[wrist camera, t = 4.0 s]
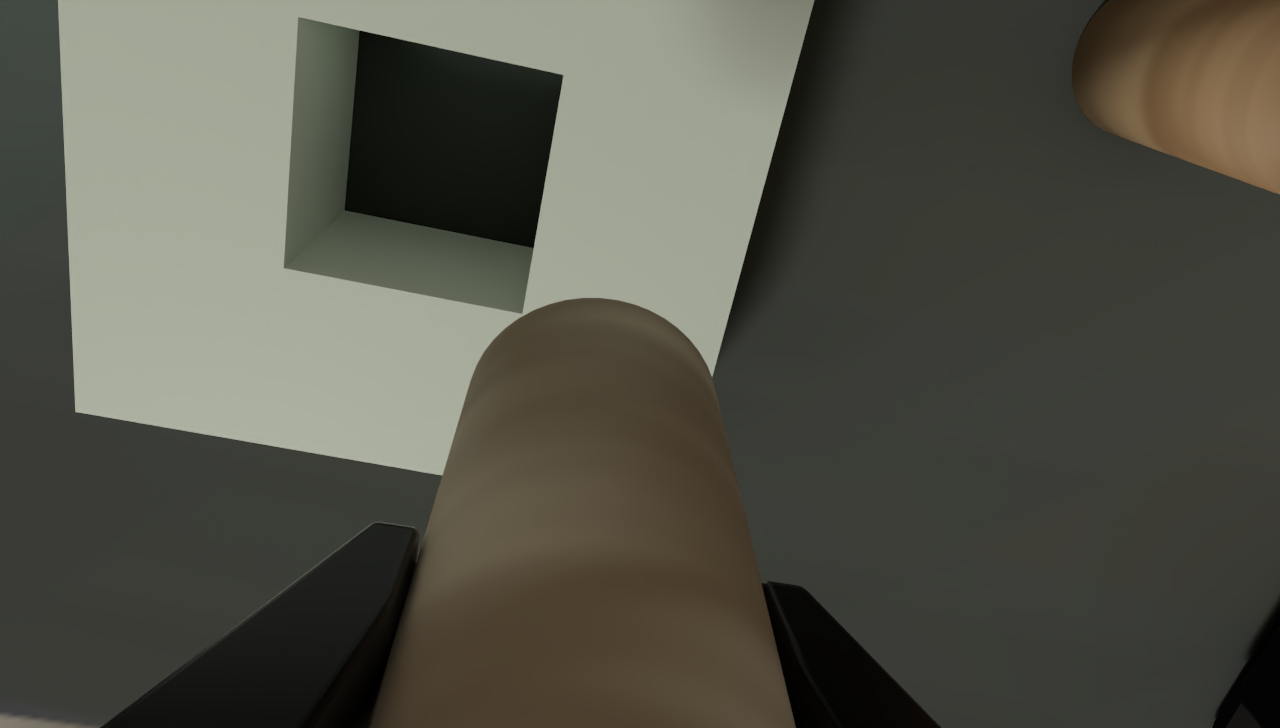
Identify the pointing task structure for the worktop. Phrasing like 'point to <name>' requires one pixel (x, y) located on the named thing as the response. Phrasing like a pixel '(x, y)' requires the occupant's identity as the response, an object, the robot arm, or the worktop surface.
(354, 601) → the robot arm
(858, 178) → the worktop surface
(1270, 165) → the short dowel
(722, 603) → the long dowel
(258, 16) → the hole block
